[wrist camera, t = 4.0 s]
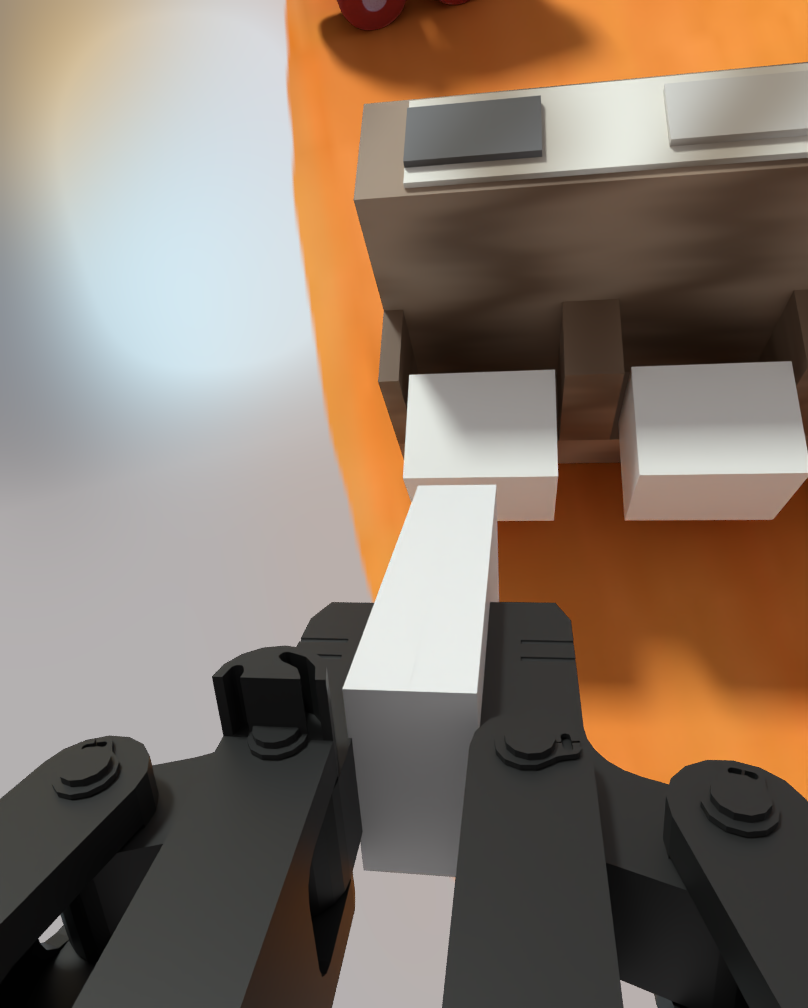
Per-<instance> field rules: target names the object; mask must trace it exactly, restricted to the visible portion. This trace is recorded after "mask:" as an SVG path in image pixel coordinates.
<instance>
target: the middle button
mask: <svg viewBox="0 0 808 1008" xmlns="http://www.w3.org/2000/svg"><path fill="white" fill-rule="evenodd" d="M618 428H619V444H620V459H621V474H622V489H623V504H624V519H625V520H773V519H774V518H775V517H776V515H777V514H778V513H779V512H780V510H781V509H782V508H783V507H784V506H785V504H786V503H787V502H788V501H789V500H790V498H791V497H792V496H793V495H794V493H795V492H796V491H797V490H798V489H799V487H800V486H801V485H802V484H803V482H804V481H805V480H806V479H807V478H808V451H807V446H806V440H805V434H804V429H803V423H802V417H801V412H800V406H799V400H798V395H797V389H796V383H795V378H794V372H793V366H792V361H782V362H754V363H726V364H698V365H670V366H642V367H631V370H630V375H629V379H628V383H627V387H626V392H625V396H624V400H623V404H622V409H621V413H620V417H619V421H618Z"/></svg>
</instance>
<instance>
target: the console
mask: <svg viewBox="0 0 808 1008" xmlns="http://www.w3.org/2000/svg"><path fill="white" fill-rule="evenodd" d="M354 203H355V206H356V210H357V214H358V217H359V221H360V225H361V228H362V232H363V236H364V239H365V243H366V247H367V250H368V254H369V258H370V261H371V265H372V269H373V272H374V276H375V280H376V283H377V287H378V291H379V294H380V298H381V302H382V305H383V309H384V316H383V329H382V341H381V354H380V366H379V379H378V382H379V385H380V389H381V392H382V395H383V398H384V401H385V404H386V407H387V410H388V413H389V416H390V419H391V422H392V425H393V428H394V431H395V434H396V437H397V440H398V443H399V446H400V449H401V452H402V455H403V458H404V454H405V438H406V421H407V405H408V389H409V375H417V374H445V373H473V372H501V371H529V370H555V386H556V420H557V454H558V463H619V462H621V459H620V444H619V428H618V421H619V417H620V413H621V409H622V404H623V400H624V396H625V392H626V387H627V383H628V379H629V375H630V370H631V367H642V366H670V365H698V364H726V363H754V362H782V361H792V366H793V372H794V378H795V383H796V389H797V395H798V400H799V406H800V412H801V417H802V423H803V429H804V434H805V440H806V446H807V451H808V62H803V63H793V64H782V65H772V66H761V67H750V68H740V69H729V70H719V71H708V72H698V73H687V74H677V75H666V76H656V77H645V78H635V79H624V80H614V81H603V82H592V83H582V84H571V85H561V86H550V87H540V88H529V89H519V90H508V91H498V92H487V93H477V94H466V95H455V96H445V97H434V98H424V99H413V100H403V101H392V102H382V103H371V104H364V109H363V118H362V127H361V137H360V146H359V155H358V165H357V174H356V183H355V193H354Z"/></svg>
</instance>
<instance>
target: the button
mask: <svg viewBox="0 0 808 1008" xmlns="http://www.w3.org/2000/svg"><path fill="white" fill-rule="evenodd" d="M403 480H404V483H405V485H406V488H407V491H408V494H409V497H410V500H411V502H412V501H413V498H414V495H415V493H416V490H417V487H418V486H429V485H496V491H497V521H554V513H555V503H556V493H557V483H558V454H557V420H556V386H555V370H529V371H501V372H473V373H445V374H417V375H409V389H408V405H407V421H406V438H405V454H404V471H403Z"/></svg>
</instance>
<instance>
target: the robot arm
mask: <svg viewBox="0 0 808 1008" xmlns="http://www.w3.org/2000/svg"><path fill="white" fill-rule="evenodd" d="M212 678H213V684H214V689H215V695H216V700H217V705H218V710H219V715H220V720H221V725H222V730H223V738H222V740H221V742H220V743H219V745H218V747H217V749H216V751H215V752H213V753H211V754H207V755H203V756H199V757H195V758H190V759H185V760H180V761H174V762H169V763H164V764H158V765H153V766H152V763H151V759H150V756H149V754H148V752H147V750H146V748H145V746H144V744H142V743H140V742H138V741H136V740H134V739H132V738H130V737H120V736H105V737H100V738H95V739H89V740H85V741H83V742H80V743H78V744H75V745H73V746H71V747H68V748H65V749H63V750H62V751H60V752H59V753H57V754H56V755H54V756H53V757H51V758H50V759H48V760H47V761H45V762H44V763H43V764H41V765H40V766H39V767H38V768H37V769H35V770H34V771H33V772H32V773H31V774H29V775H28V776H27V777H26V778H25V779H23V780H22V781H21V782H20V783H19V784H18V785H16V786H15V787H14V788H13V789H12V790H10V791H9V792H8V793H7V794H6V795H4V796H3V797H2V798H1V799H0V1008H332V1005H333V1000H334V996H335V992H336V987H337V983H338V979H339V975H340V971H341V966H342V962H343V958H344V953H345V949H346V945H347V940H348V936H349V932H350V927H351V923H352V919H353V915H354V911H355V887H354V880H353V867H354V863H355V860H356V856H357V852H358V848H359V844H360V842H361V851H362V859H363V868H364V870H368V871H381V872H394V873H408V874H422V875H436V876H449V877H456V879H455V888H454V898H453V908H452V917H451V927H450V937H449V946H448V956H447V966H446V976H445V985H444V995H443V1004H442V1008H623V1001H622V992H621V984H620V980H622V981H625V982H627V983H630V984H632V985H634V986H637V987H639V988H642V989H644V990H646V991H649V992H651V993H654V995H655V1000H656V1004H657V1007H658V1008H808V801H807V800H806V799H805V798H804V797H803V796H802V795H801V794H799V793H798V792H797V791H796V790H795V789H794V788H793V787H792V786H791V785H789V784H788V783H787V782H786V781H785V780H783V779H781V778H779V777H777V776H775V775H773V774H771V773H769V772H767V771H765V770H763V769H761V768H759V767H755V766H751V765H748V764H744V763H740V762H736V761H726V760H705V761H702V762H698V763H695V764H692V765H688V766H685V767H684V768H683V769H682V770H680V771H679V772H678V773H677V774H676V775H674V776H673V777H672V778H671V780H670V784H665V783H662V782H658V781H655V780H651V779H647V778H644V777H641V776H638V775H635V774H633V773H630V772H627V771H625V770H622V769H621V768H619V767H617V766H615V765H614V764H612V763H610V762H609V761H607V760H606V759H605V758H604V757H602V756H601V755H600V754H599V753H598V752H597V751H596V750H595V749H594V748H593V746H592V745H591V744H590V742H589V741H588V739H587V737H586V734H585V731H584V727H583V719H582V711H581V702H580V694H579V685H578V677H577V668H576V662H575V651H574V645H573V634H572V625H571V620H570V619H569V618H568V617H567V616H566V614H565V613H564V612H563V611H562V610H561V609H560V608H559V607H558V606H557V604H556V603H527V602H499V573H498V532H497V491H496V485H429V486H418V487H417V490H416V493H415V495H414V498H413V501H412V503H411V506H410V509H409V511H408V514H407V517H406V520H405V522H404V525H403V528H402V530H401V533H400V536H399V538H398V541H397V544H396V546H395V549H394V552H393V554H392V557H391V560H390V562H389V565H388V568H387V571H386V573H385V576H384V579H383V581H382V584H381V587H380V589H379V592H378V595H377V597H376V600H375V603H344V602H343V603H342V602H340V603H339V602H332V603H331V604H329V605H328V606H327V607H325V608H324V609H323V610H321V611H320V612H319V613H317V614H316V615H315V616H314V617H313V618H311V620H310V622H309V624H308V625H307V627H306V630H305V631H304V633H303V635H302V637H301V642H299V643H298V645H297V647H291V646H277V647H265V648H261V649H257V650H254V651H251V652H247V653H244V654H241V655H240V656H238V657H236V658H234V659H232V660H231V661H229V662H227V663H225V664H224V665H223V666H222V667H221V668H220V669H219V670H218V671H217V672H216V673H215V674H214V675H213V676H212ZM59 915H61V917H62V921H63V924H64V925H63V926H62V927H61V928H60V930H59V931H58V932H57V933H56V934H54V935H53V936H52V937H51V938H49V939H48V940H47V941H46V942H44V943H40V942H39V939H38V938H39V937H40V936H41V935H42V934H43V933H44V931H45V930H46V929H47V928H48V927H49V926H50V925H51V924H52V923H53V922H54V921H55V919H57V917H58V916H59Z"/></svg>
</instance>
